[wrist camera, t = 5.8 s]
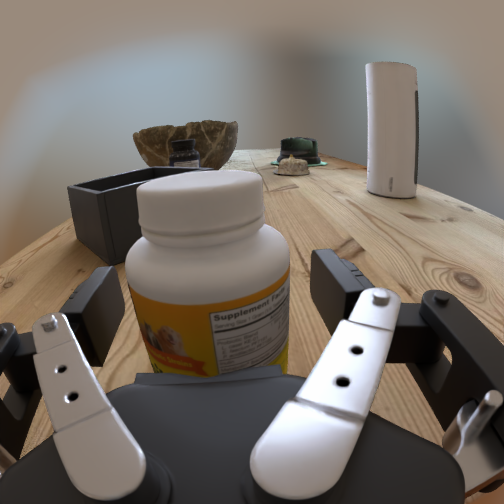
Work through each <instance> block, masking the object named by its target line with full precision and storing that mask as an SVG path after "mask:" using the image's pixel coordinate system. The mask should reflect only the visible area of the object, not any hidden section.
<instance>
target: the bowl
mask: <svg viewBox="0 0 504 504" xmlns="http://www.w3.org/2000/svg"><path fill="white" fill-rule="evenodd" d="M237 133H238V124H237V122H236V121H234V122H231V123H226V122H220V121H212V120H205V121H202V122H190V123H187V124H186V126H177V127H174V126H172V125H166V126H157V127H152V128H147V129H142V130H141V131H140V132H139V133H137V132H136V133H134V134H133V139H134V142H135V145H136V147H137V149H138V151H139V153H140V155H141V157H142V158H143V160H144V161H145V162H146V163H147V165H148V166H149V167H155V166H159V167H170V164H169V156H170V154H171V153H173V148H172V147H171V142H172V141H178V140H188V139H195V146H194V149H195V150H196V151H198V152H199V154H200V167H201V168H214V171H215V170H219V169H220V168H221V167H222V166H223V165H224V164H225V163H226V162H227V161H228V160H229V158H230V157H231V155H232V153H233V151H234V149H235V147H236V143H237Z"/></svg>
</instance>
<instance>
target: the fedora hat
mask: <svg viewBox="0 0 504 504" xmlns="http://www.w3.org/2000/svg"><path fill="white" fill-rule="evenodd" d="M290 155H293V157H294V158H295V159H301V160H305V161H307V163H308V166H317V165H326V164H327V163H325V162H321V160H320V158H319V157H318V149H317V140H315V139H312V138H301V137H296V138H287V139H283V140H281V151H280V156H279V157H278V158H277V161H274V162H271V163H272V164H279V162H280V161H281V160H282V159H289V157H290Z"/></svg>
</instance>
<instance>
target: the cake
mask: <svg viewBox="0 0 504 504" xmlns="http://www.w3.org/2000/svg"><path fill="white" fill-rule="evenodd" d="M273 172H274V173H277V174H284V175H306V174H309V173H310V172H309V170H308V163H307V161H305V160H301V159H295V158H294V157H293V155H290V157H289V159H282V160H281V161H280V162H279V168H278V169H277V170H274V171H273Z"/></svg>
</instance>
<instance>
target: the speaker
mask: <svg viewBox="0 0 504 504" xmlns="http://www.w3.org/2000/svg"><path fill="white" fill-rule="evenodd" d="M366 79H367V103H368V169H367V189H368V191H369V192H370V193H372V194H375V195H378V196H383V197H389V198H399V199H407V198H413V197H415V196H416V188H417V170H418V146H419V145H418V144H419V117H418V116H419V112H418V88H417V72H416V68H415V67H413V66H410V65H408V64H403V63H396V62H373V63H368V64H366Z"/></svg>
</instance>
